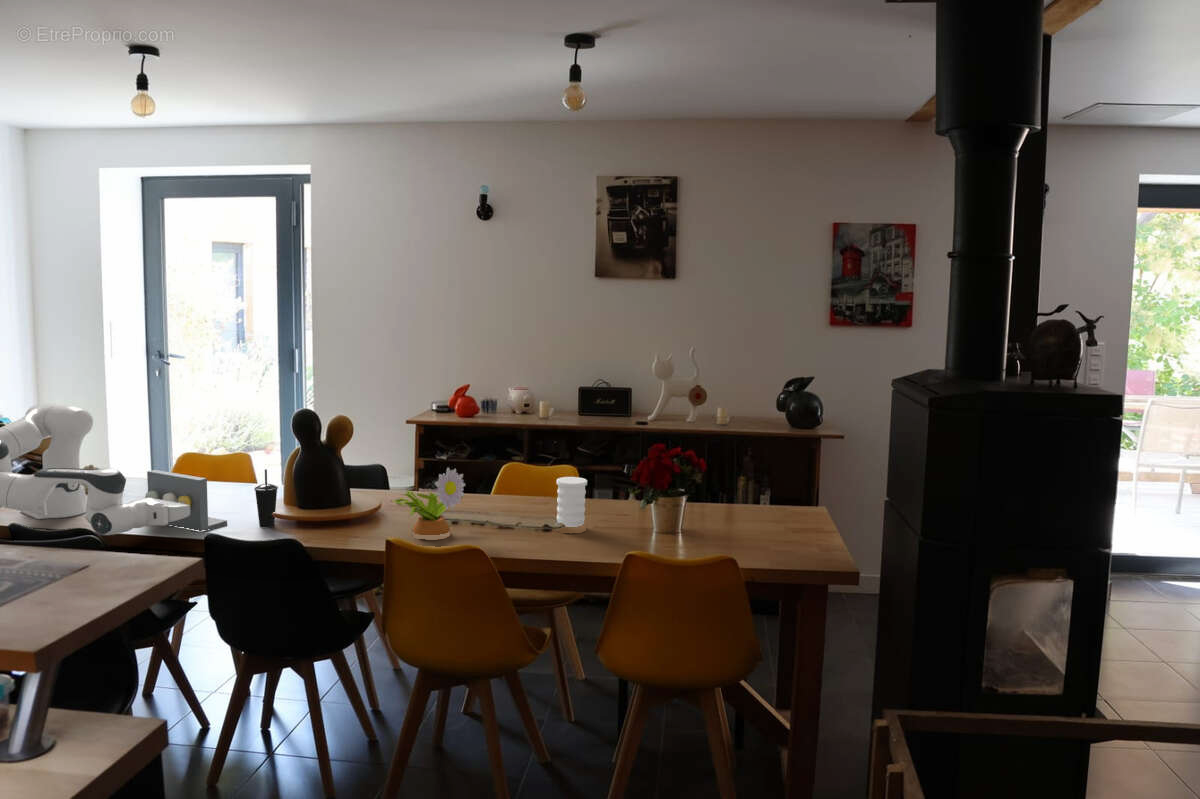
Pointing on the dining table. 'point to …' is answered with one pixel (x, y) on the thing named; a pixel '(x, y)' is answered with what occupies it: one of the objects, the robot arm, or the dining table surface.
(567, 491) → the decorative container
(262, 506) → the drinking cup
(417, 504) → the decorative plant
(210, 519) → the button panel
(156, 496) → the button sage
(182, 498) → the button mustard
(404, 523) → the dining table surface
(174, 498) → the button cream
